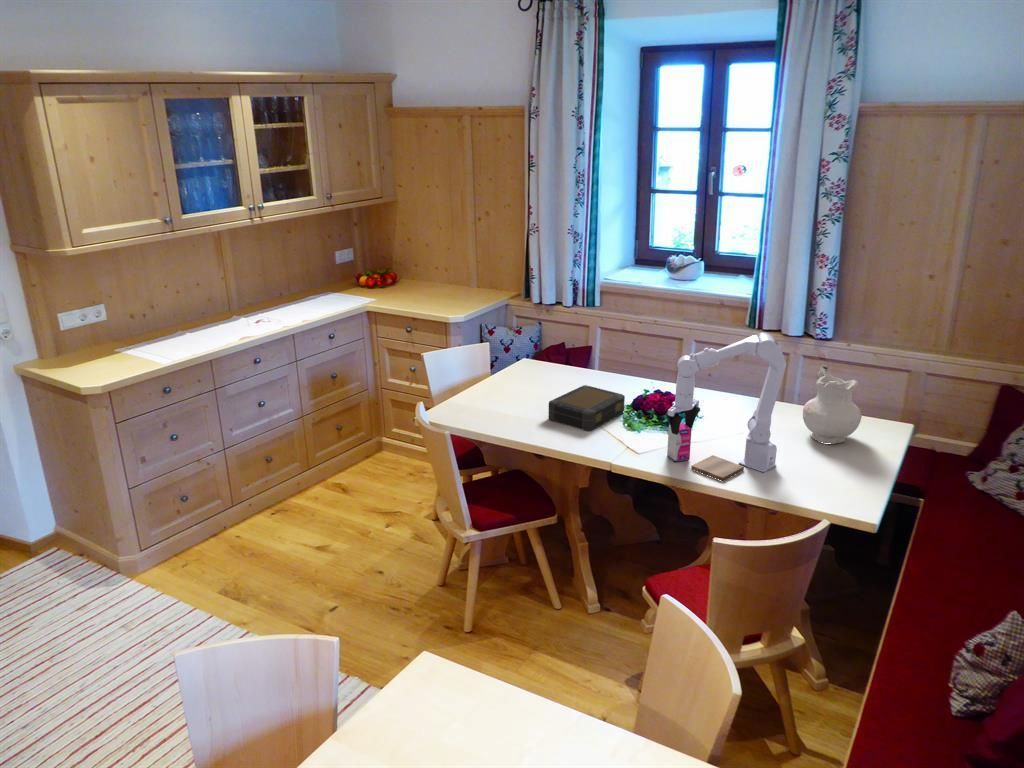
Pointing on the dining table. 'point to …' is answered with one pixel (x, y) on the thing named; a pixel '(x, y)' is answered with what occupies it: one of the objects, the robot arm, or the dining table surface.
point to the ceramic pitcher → (832, 409)
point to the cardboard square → (717, 468)
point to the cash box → (586, 407)
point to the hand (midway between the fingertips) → (681, 430)
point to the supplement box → (679, 444)
